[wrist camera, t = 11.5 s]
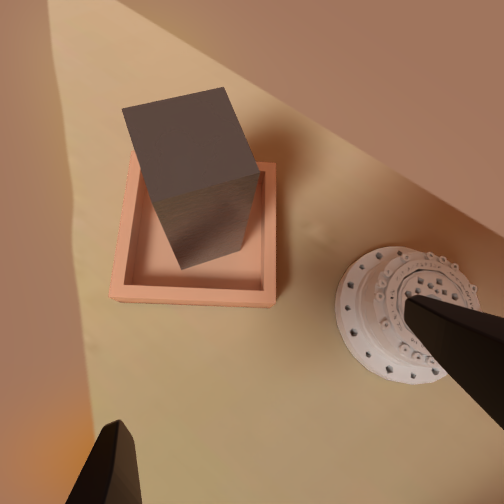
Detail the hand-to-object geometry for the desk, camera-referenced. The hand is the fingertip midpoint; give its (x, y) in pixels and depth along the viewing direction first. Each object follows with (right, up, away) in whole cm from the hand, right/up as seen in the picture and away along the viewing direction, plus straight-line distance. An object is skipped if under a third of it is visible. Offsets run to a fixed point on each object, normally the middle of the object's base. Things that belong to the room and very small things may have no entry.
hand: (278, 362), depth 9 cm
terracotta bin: (-5, +4, +15) cm, 16 cm away
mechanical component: (+10, -2, +15) cm, 18 cm away
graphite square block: (-5, +5, +14) cm, 16 cm away
